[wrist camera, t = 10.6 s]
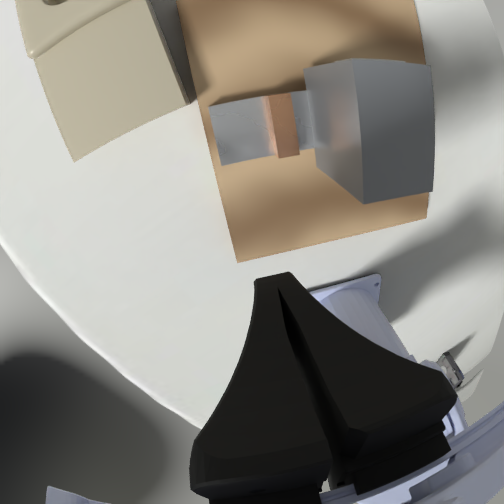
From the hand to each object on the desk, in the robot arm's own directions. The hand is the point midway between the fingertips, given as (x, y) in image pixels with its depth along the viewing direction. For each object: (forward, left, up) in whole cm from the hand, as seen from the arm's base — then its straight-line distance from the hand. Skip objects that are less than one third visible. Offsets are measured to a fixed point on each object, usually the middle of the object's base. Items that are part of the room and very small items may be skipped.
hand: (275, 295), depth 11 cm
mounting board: (+5, -6, -10) cm, 13 cm away
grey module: (+5, -6, -8) cm, 11 cm away
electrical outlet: (+16, +7, -10) cm, 20 cm away
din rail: (+5, -7, -9) cm, 12 cm away
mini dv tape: (-35, -25, -10) cm, 45 cm away
